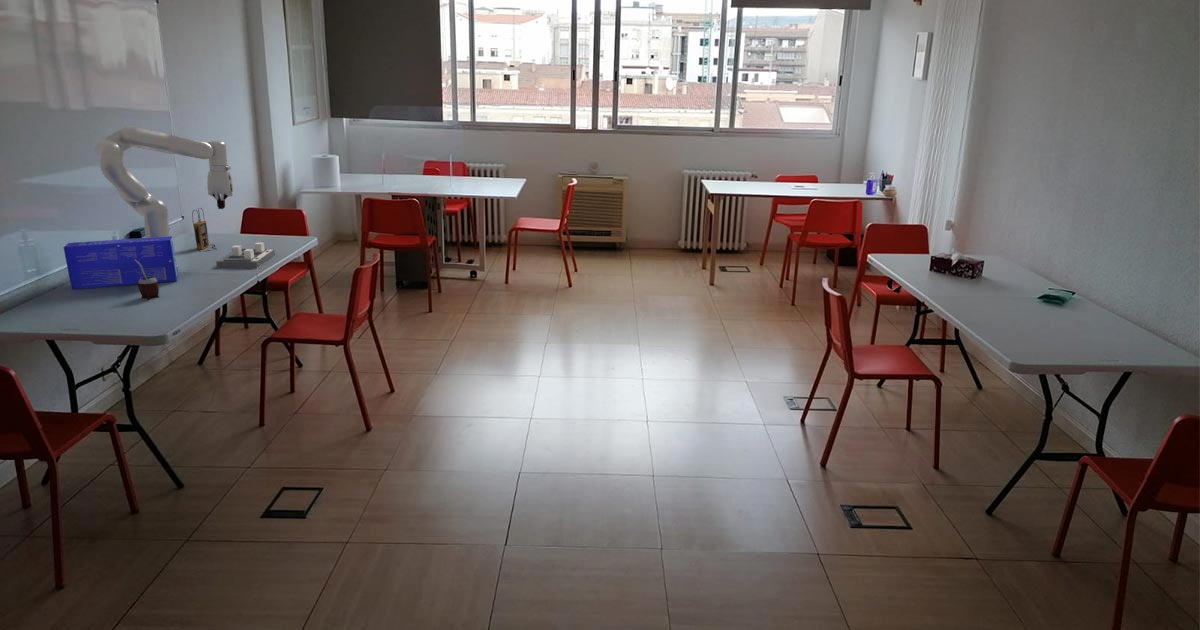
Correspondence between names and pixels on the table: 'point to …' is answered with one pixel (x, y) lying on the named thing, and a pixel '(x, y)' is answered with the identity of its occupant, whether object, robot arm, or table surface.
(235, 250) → the tab middle
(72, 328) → the table surface
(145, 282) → the mate gourd
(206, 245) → the multimeter
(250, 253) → the tab
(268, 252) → the switch bank
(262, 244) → the tab
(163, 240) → the toner cartridge box
